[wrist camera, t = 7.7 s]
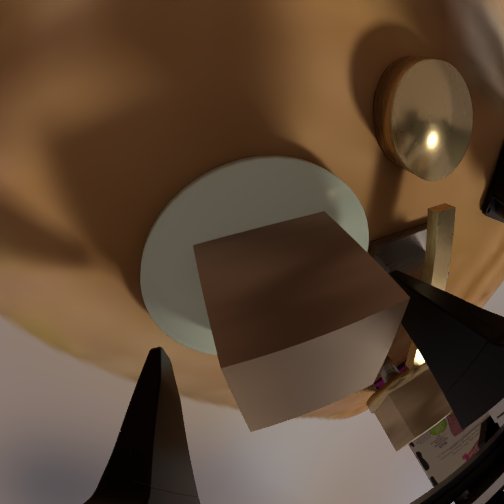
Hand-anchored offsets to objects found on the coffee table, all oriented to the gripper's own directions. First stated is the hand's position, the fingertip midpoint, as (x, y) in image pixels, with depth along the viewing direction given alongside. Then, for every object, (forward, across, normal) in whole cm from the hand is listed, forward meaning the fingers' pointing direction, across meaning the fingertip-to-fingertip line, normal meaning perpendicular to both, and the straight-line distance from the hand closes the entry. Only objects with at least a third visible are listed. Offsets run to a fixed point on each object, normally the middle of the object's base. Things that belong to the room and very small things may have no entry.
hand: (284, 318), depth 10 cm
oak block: (-2, -8, +12) cm, 15 cm away
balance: (+3, -8, +3) cm, 10 cm away
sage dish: (+3, 0, 0) cm, 3 cm away
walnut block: (+2, 0, 0) cm, 2 cm away
